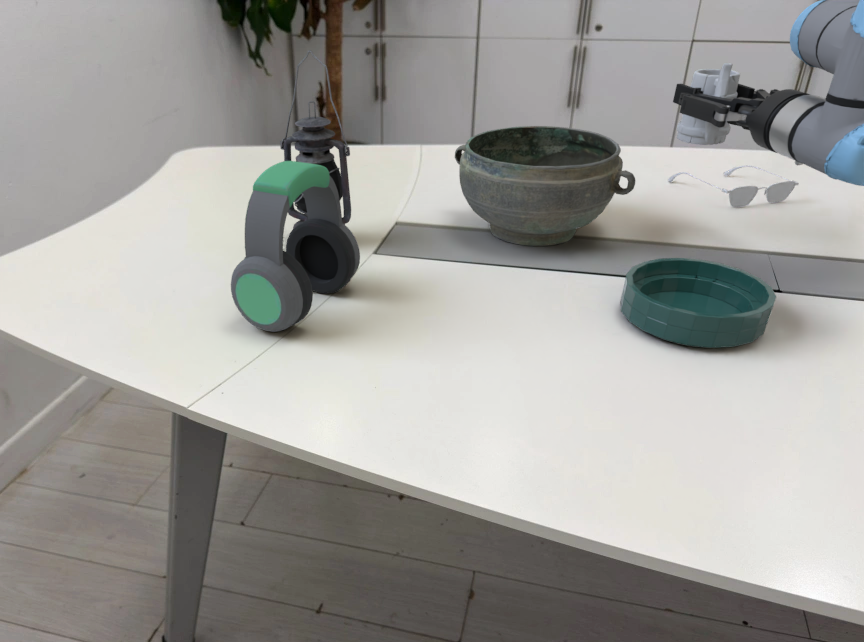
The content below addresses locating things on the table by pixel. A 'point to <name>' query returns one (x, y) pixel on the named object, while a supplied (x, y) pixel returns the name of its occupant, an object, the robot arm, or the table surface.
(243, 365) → the table surface
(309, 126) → the lantern
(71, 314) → the table surface
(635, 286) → the dish
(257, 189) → the headphones
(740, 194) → the eyeglasses
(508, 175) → the bowl
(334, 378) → the table surface
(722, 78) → the mug
